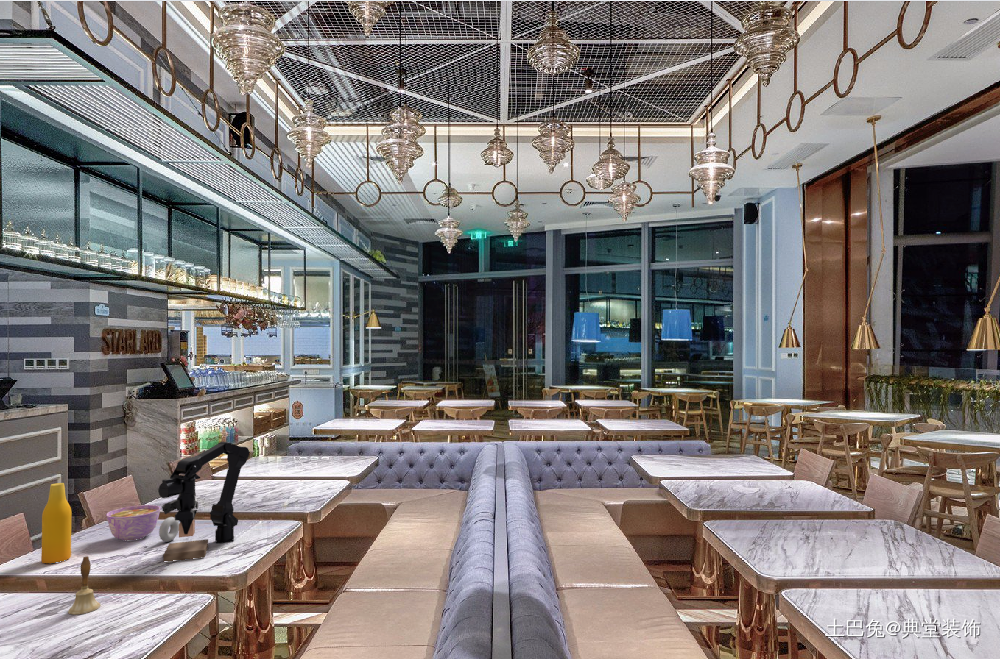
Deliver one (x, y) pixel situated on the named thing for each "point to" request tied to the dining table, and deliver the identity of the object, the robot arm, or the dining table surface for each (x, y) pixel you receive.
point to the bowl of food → (133, 521)
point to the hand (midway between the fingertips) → (186, 532)
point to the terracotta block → (191, 530)
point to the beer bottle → (56, 526)
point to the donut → (165, 526)
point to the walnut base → (186, 550)
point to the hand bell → (84, 593)
